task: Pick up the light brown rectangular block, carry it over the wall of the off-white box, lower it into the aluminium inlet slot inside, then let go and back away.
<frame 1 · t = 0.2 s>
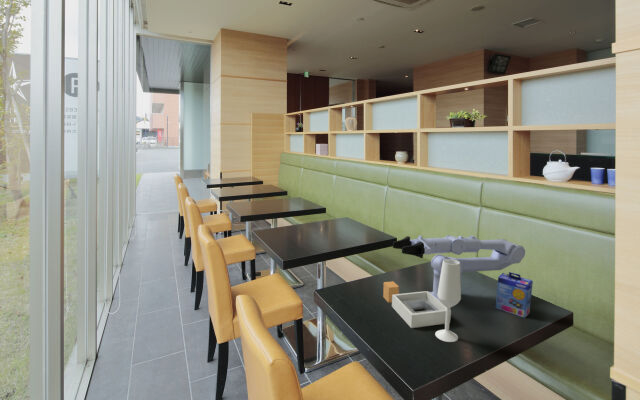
hand: (397, 247, 125), 21 cm above the table, tool horizontal, fingers open, 7 cm apart
walled box: (419, 314, 120), on the table
champagne flute: (446, 336, 107), on the table
ink cartridge box: (511, 311, 122), on the table
inlet socket: (419, 310, 120), in the walled box
light brown rectangular block: (390, 299, 132), on the table
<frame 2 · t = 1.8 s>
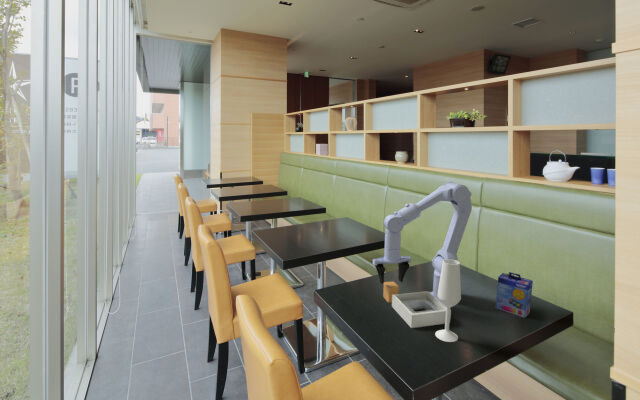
hand: (391, 281, 130), 7 cm above the table, tool pointing down, fingers open, 7 cm apart
nothing on the table moved.
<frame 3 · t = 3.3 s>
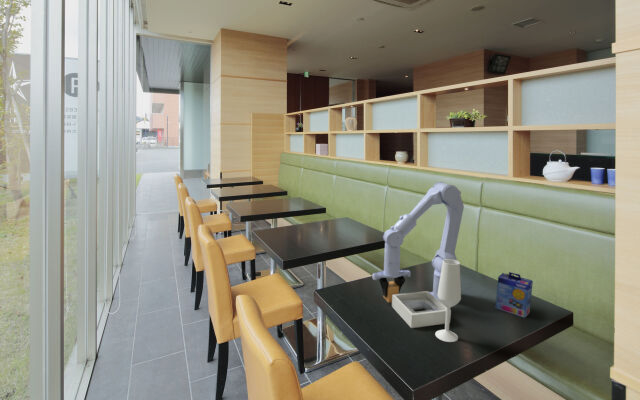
hand: (390, 295, 131), 1 cm above the table, tool pointing down, fingers closed on light brown rectangular block, 4 cm apart
light brown rectangular block: (390, 299, 132), on the table, touching gripper
everything else where it was.
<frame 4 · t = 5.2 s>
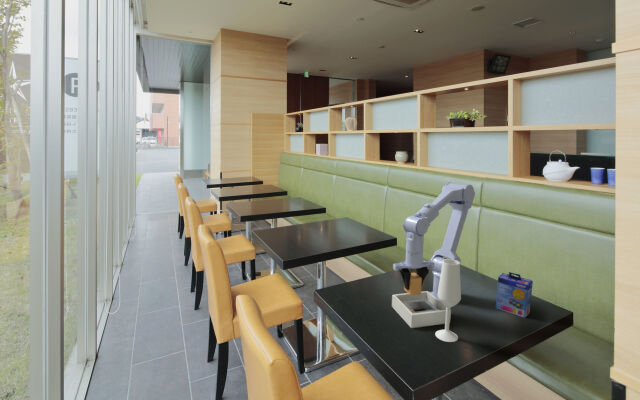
hand: (412, 288, 122), 8 cm above the table, tool pointing down, fingers closed on light brown rectangular block, 4 cm apart
light brown rectangular block: (412, 291, 122), point 7 cm above the table, touching gripper
everything else where it was.
when the fingers open (3 cm above the table, at t = 7.2 s): light brown rectangular block drops 2 cm, resting in inlet socket.
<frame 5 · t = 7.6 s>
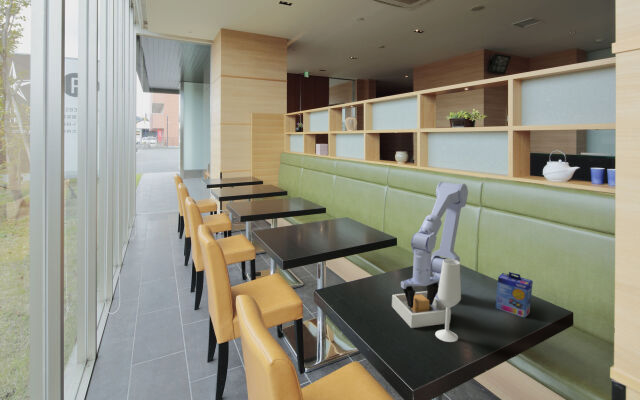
hand: (420, 305, 120), 3 cm above the table, tool pointing down, fingers open, 7 cm apart
light brown rectangular block: (419, 314, 120), resting in inlet socket
everything else where it was.
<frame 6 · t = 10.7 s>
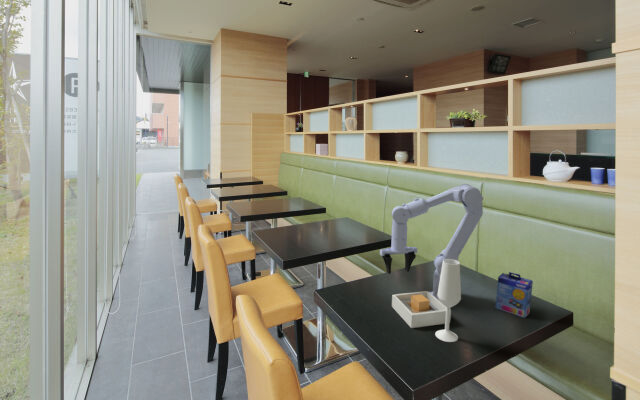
hand: (397, 271, 134), 9 cm above the table, tool pointing down, fingers open, 7 cm apart
nothing on the table moved.
at the end: light brown rectangular block 0.2 cm off-centre on the inlet socket, point 0.0 cm above the inlet socket's base; light brown rectangular block tilted 0°; the gripper is holding nothing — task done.
